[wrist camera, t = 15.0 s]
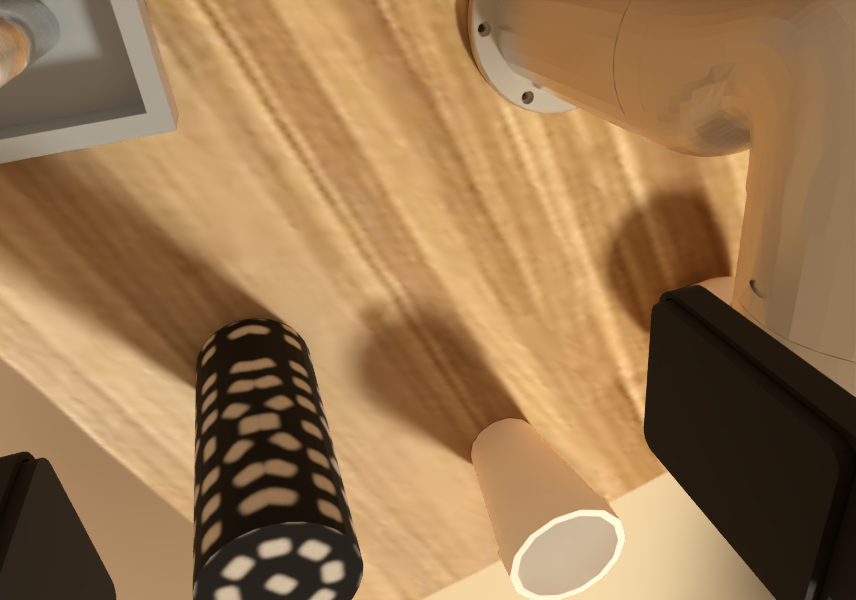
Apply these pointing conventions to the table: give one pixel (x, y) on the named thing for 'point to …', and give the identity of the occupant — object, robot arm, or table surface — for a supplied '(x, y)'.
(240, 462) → the spotted tube
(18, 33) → the steel pin
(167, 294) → the table surface
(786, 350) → the robot arm
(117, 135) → the tray
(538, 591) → the foam cup
